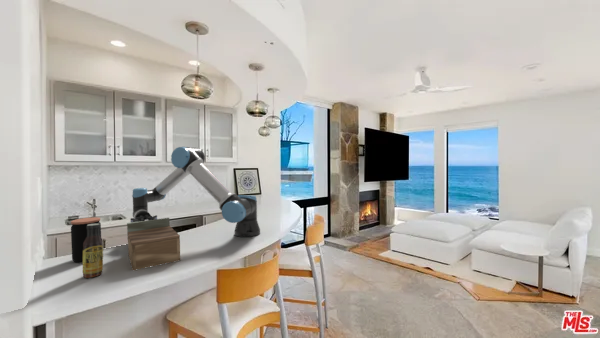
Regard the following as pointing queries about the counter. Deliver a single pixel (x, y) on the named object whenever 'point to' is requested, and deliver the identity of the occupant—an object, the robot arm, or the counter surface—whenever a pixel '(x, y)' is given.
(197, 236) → the counter surface
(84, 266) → the sauce bottle
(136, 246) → the chest
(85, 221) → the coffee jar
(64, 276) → the counter surface
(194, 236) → the counter surface
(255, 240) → the counter surface
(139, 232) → the lid
